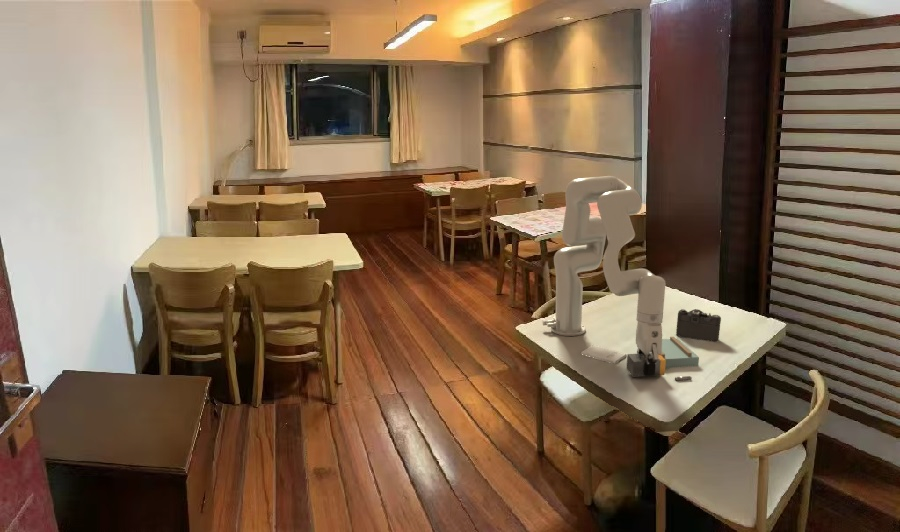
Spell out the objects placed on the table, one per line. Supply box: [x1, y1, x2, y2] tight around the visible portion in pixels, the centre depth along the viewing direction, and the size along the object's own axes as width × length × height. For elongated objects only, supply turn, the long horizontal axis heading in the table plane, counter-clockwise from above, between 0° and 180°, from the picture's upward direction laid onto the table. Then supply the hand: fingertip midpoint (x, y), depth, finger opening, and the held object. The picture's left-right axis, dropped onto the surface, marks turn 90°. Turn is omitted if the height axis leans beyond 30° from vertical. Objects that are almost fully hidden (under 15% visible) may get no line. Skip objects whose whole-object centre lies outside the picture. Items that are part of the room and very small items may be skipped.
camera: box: [675, 308, 722, 343], centre depth 228 cm, size 14×11×10 cm
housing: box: [626, 353, 666, 378], centre depth 197 cm, size 10×6×5 cm, turn 94°
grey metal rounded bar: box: [674, 375, 693, 382], centre depth 195 cm, size 5×1×1 cm, turn 94°
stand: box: [649, 336, 700, 369], centre depth 211 cm, size 14×16×4 cm
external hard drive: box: [580, 344, 628, 365], centre depth 214 cm, size 2×8×12 cm
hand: (645, 370), depth 198 cm, fingers closed on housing, 5 cm apart
